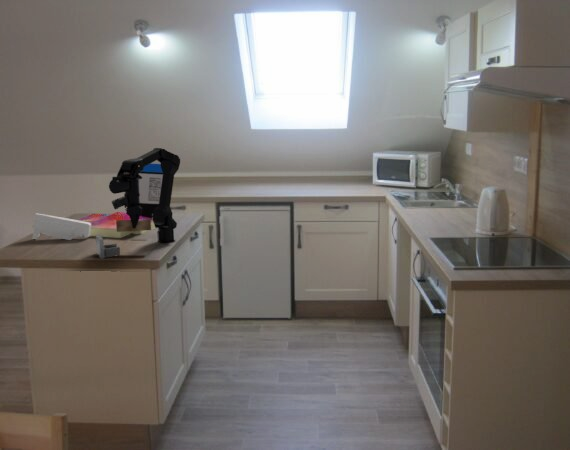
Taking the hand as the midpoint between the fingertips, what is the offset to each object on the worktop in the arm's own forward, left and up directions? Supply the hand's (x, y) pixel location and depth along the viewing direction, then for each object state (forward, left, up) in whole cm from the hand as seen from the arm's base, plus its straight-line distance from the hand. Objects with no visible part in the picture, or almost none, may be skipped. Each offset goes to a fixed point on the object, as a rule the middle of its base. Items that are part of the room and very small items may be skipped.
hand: (133, 227), depth 265 cm
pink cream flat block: (+2, -45, -11) cm, 46 cm away
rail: (0, 0, -1) cm, 1 cm away
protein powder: (-21, -64, -11) cm, 68 cm away
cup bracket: (+10, +1, -10) cm, 15 cm away
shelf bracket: (+25, -38, -11) cm, 47 cm away
